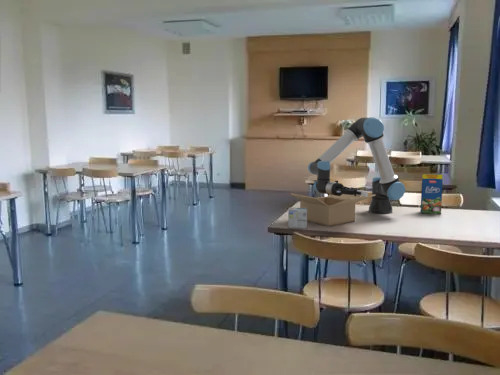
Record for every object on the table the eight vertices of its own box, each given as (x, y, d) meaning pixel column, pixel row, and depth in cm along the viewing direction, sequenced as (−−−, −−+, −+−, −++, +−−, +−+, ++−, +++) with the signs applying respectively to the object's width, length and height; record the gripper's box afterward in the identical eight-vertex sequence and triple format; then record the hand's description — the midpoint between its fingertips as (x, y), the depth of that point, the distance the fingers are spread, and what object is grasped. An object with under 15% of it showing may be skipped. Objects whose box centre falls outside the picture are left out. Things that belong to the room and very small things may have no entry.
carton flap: (350, 198, 265) (350, 199, 265) (375, 194, 278) (375, 195, 278) (330, 205, 278) (330, 206, 278) (355, 201, 290) (355, 202, 290)
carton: (288, 221, 294) (288, 192, 292) (334, 213, 317) (335, 186, 315) (317, 228, 274) (318, 198, 272) (364, 219, 298) (365, 191, 295)
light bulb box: (306, 225, 282) (307, 207, 281) (307, 228, 275) (307, 209, 274) (288, 225, 283) (288, 207, 282) (288, 228, 277) (288, 209, 275)
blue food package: (441, 214, 313) (443, 175, 309) (421, 213, 316) (423, 174, 312) (439, 212, 319) (441, 174, 315) (420, 211, 322) (422, 173, 318)
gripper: (342, 194, 292) (374, 199, 274) (327, 196, 285) (358, 202, 266) (343, 181, 291) (374, 186, 273) (327, 183, 284) (358, 188, 265)
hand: (366, 194), depth 269 cm, fingers closed
